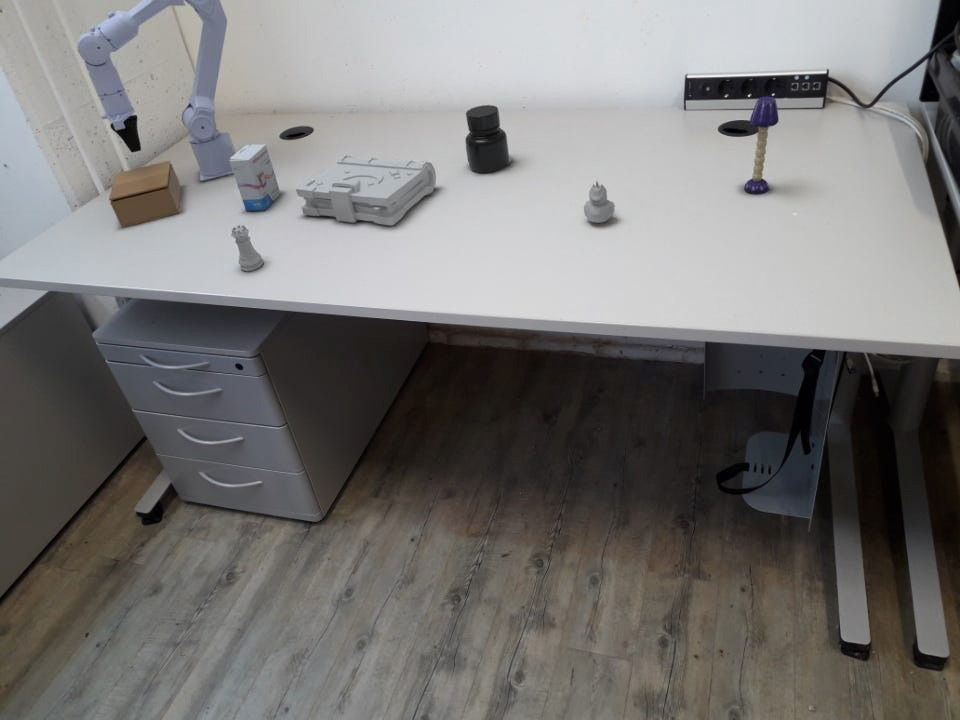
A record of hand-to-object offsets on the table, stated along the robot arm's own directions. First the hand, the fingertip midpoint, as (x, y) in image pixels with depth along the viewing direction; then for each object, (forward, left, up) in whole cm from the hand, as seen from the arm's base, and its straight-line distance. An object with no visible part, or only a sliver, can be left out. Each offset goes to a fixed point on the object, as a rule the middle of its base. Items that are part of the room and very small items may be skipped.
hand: (136, 150), depth 174 cm
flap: (0, +5, -4) cm, 6 cm away
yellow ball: (-3, +5, -8) cm, 9 cm away
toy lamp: (-113, +75, -11) cm, 136 cm away
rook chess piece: (-21, +52, -11) cm, 57 cm away
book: (-45, +36, -11) cm, 59 cm away
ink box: (-25, +23, -11) cm, 36 cm away
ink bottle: (-74, +34, -11) cm, 82 cm away
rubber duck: (-84, +70, -11) cm, 110 cm away
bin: (0, +9, -10) cm, 14 cm away
